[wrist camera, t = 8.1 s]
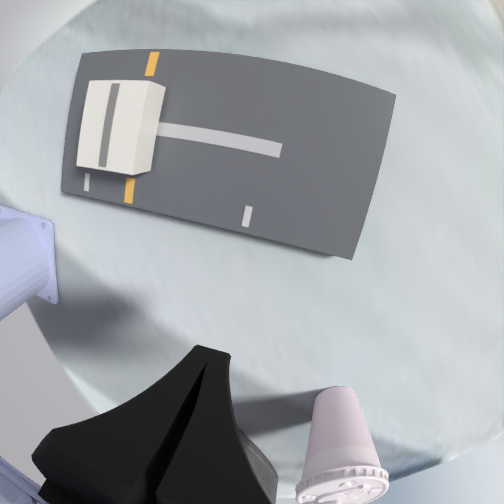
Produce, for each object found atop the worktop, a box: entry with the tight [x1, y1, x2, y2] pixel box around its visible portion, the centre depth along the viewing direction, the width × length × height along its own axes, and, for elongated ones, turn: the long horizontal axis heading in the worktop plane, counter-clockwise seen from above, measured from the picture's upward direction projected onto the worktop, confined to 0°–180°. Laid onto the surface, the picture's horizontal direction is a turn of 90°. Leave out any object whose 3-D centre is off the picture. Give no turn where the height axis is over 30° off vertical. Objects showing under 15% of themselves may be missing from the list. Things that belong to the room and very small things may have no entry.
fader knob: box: [76, 80, 166, 175], centre depth 14 cm, size 4×5×2 cm
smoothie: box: [295, 386, 389, 504], centre depth 16 cm, size 6×6×14 cm
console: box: [61, 49, 396, 260], centre depth 16 cm, size 20×10×2 cm, turn 78°
